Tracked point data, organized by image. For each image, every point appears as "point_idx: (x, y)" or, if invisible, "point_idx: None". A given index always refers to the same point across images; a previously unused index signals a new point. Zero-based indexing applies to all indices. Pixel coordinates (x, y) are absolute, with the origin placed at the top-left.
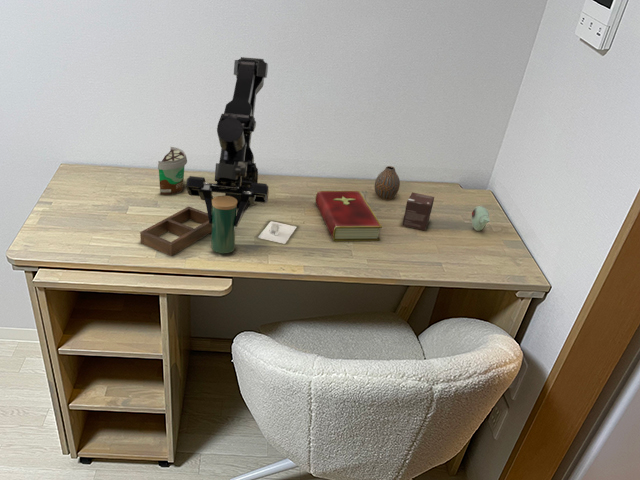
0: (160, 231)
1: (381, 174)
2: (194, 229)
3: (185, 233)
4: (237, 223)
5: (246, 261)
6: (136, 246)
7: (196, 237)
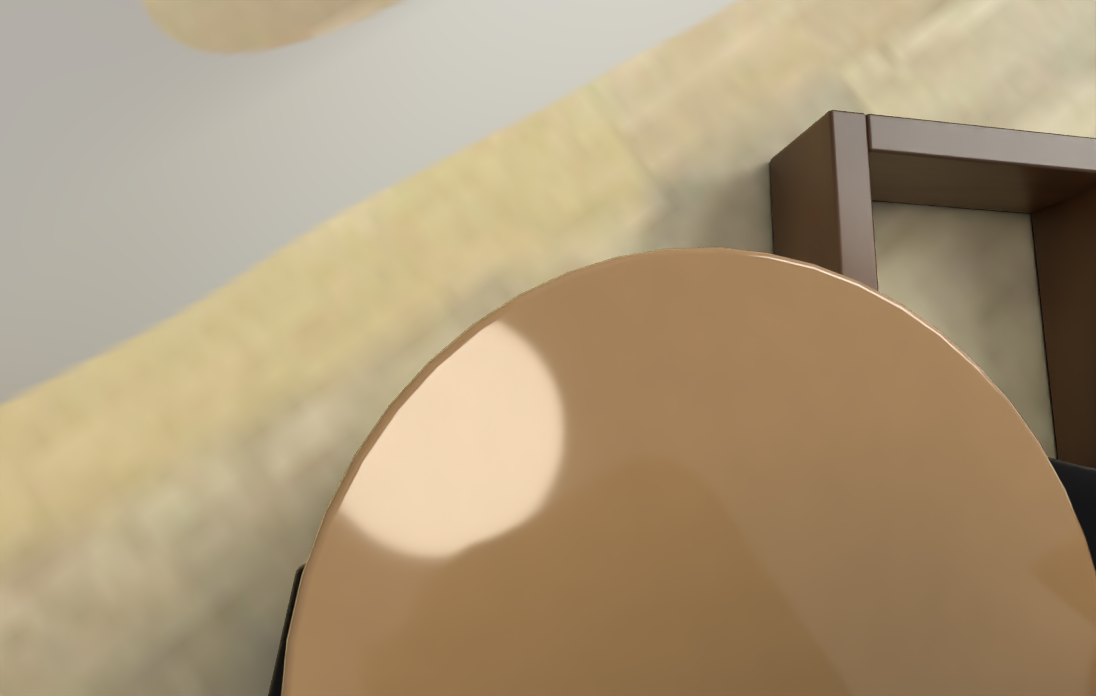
0: (1081, 373)
1: None
2: None
3: None
4: (292, 605)
5: (182, 490)
6: None
7: None
